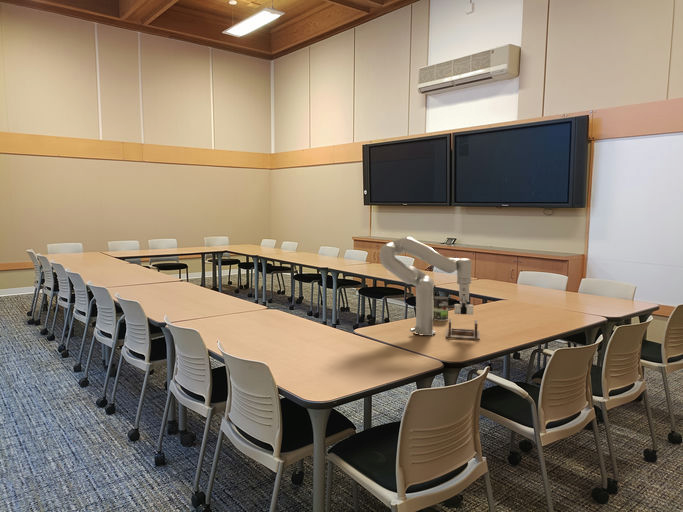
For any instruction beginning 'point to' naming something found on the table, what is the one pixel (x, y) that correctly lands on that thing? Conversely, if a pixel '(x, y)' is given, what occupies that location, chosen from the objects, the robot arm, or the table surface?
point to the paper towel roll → (458, 309)
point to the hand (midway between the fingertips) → (463, 312)
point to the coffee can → (440, 308)
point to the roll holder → (463, 333)
